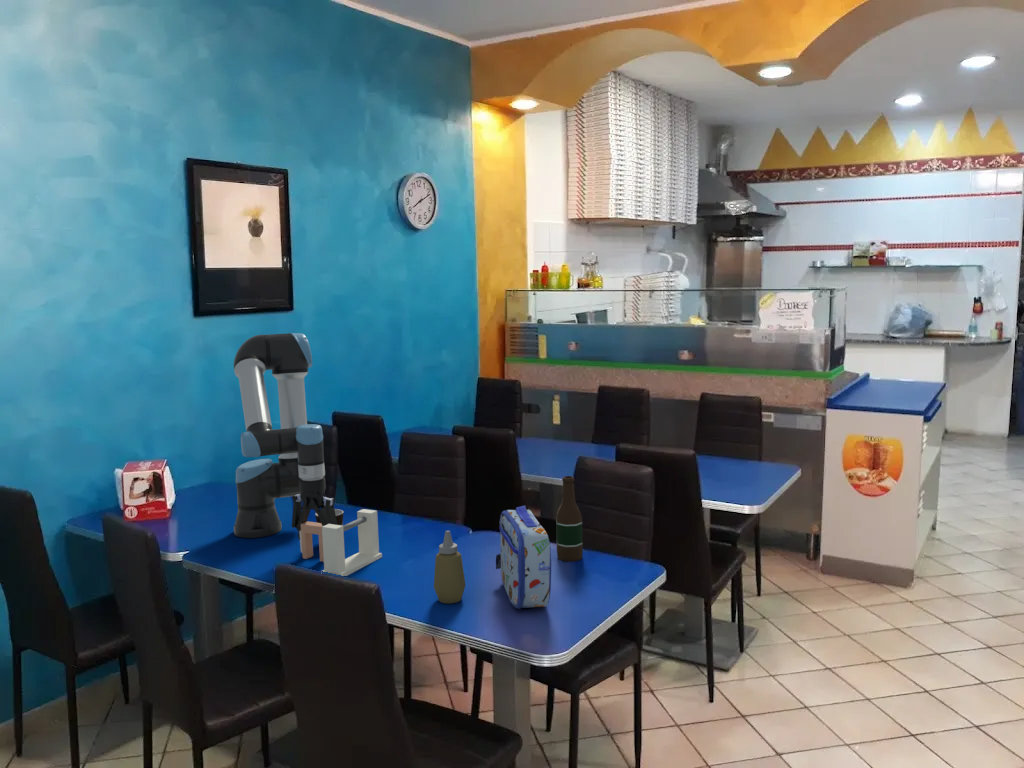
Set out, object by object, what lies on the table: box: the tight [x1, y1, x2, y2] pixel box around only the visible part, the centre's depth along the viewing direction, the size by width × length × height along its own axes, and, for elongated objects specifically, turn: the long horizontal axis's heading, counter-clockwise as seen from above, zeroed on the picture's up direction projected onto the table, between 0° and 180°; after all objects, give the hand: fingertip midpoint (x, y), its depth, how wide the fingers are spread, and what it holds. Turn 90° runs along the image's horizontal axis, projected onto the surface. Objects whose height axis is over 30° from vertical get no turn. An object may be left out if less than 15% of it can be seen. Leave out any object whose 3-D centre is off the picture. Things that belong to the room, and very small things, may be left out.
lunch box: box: [495, 505, 552, 609], centre depth 212 cm, size 28×10×22 cm, turn 12°
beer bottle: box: [555, 475, 584, 563], centre depth 239 cm, size 8×8×24 cm
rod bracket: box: [321, 508, 383, 577], centre depth 238 cm, size 7×19×14 cm, turn 154°
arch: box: [301, 520, 324, 563], centre depth 245 cm, size 8×3×10 cm, turn 64°
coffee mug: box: [314, 508, 344, 526], centre depth 260 cm, size 12×9×10 cm
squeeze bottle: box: [433, 530, 466, 604], centre depth 211 cm, size 8×8×18 cm
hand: (316, 552), depth 246 cm, fingers closed on arch, 8 cm apart
